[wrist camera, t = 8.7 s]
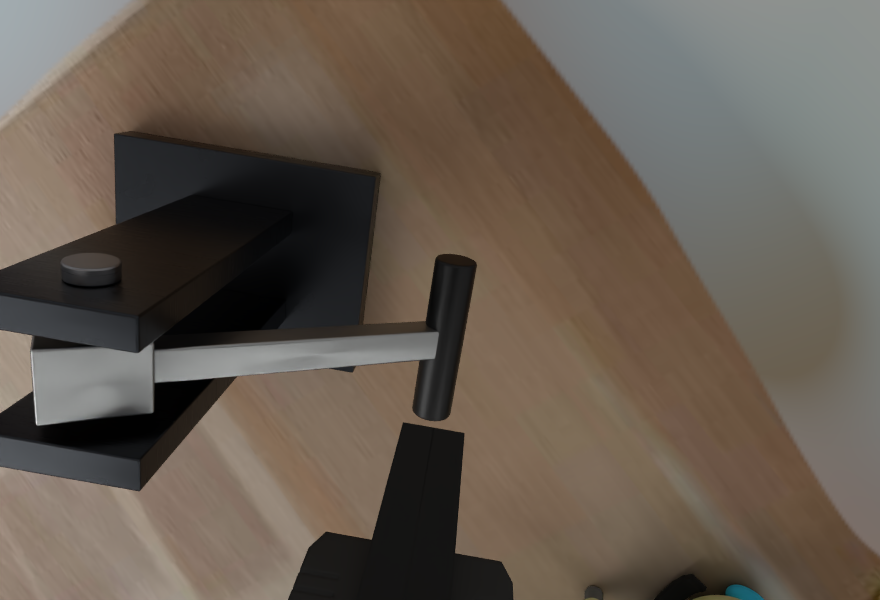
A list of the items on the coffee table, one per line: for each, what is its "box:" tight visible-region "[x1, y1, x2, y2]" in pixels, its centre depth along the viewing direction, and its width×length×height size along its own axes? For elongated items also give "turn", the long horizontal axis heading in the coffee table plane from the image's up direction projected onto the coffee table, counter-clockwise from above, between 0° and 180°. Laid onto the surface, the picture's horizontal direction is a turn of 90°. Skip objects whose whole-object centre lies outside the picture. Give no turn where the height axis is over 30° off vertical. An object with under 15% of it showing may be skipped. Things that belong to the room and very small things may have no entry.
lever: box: [30, 254, 477, 426], centre depth 20 cm, size 13×6×2 cm
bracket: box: [0, 131, 381, 491], centre depth 22 cm, size 11×9×14 cm
